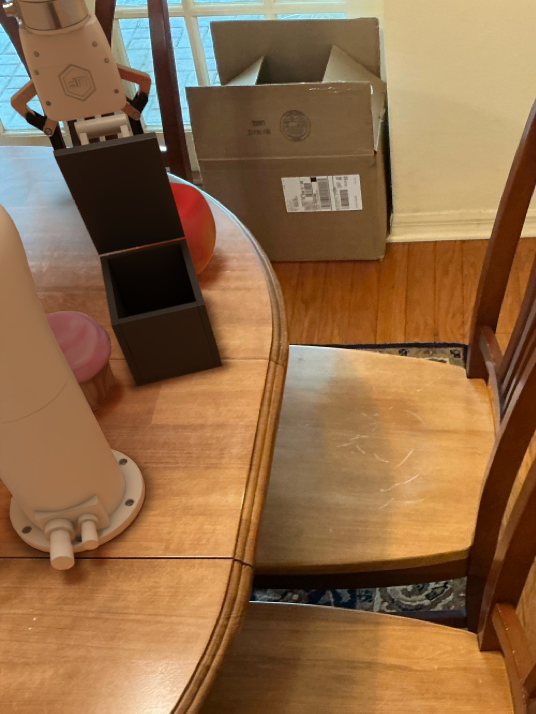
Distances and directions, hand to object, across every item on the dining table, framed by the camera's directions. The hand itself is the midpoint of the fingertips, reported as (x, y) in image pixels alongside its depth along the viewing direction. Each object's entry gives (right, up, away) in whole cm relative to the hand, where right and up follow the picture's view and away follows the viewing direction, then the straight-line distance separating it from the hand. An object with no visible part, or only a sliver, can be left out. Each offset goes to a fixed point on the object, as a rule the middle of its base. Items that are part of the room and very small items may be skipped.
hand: (103, 153), depth 103 cm
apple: (+13, -18, -6) cm, 23 cm away
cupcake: (+6, -36, -19) cm, 41 cm away
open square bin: (+13, -29, -14) cm, 35 cm away
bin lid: (+12, -17, -24) cm, 32 cm away
